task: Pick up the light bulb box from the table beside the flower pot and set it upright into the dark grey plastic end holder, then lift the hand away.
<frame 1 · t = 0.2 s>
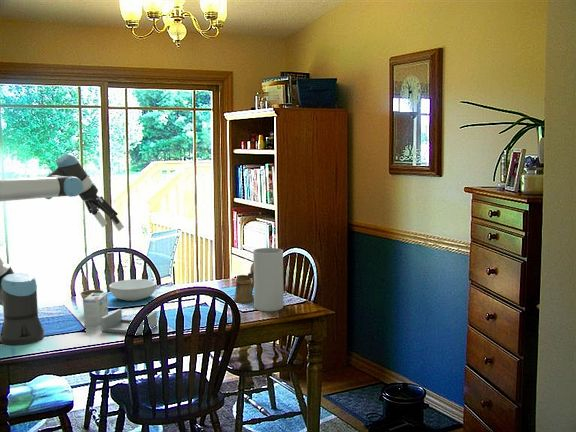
hand: (113, 227, 283), 35 cm above the table, tool tilted 35°, fingers open, 13 cm apart
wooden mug: (248, 300, 299), on the table
flower pot: (93, 312, 280), on the table
cylinder vase: (268, 308, 285), on the table
end holder: (129, 329, 256), on the table
serving bowl: (133, 299, 303), on the table
light bulb box: (96, 322, 266), on the table
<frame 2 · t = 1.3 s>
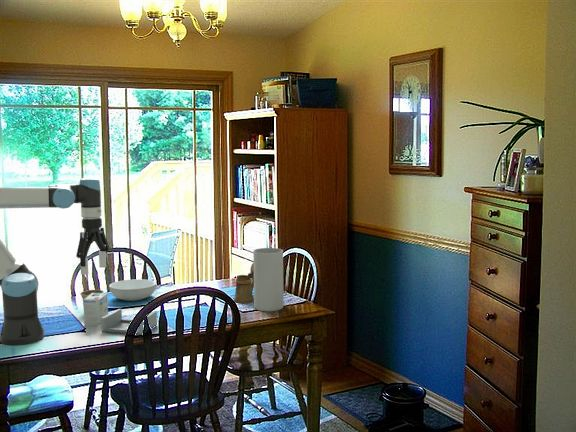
hand: (94, 270, 264), 21 cm above the table, tool pointing down, fingers open, 13 cm apart
nothing on the table moved.
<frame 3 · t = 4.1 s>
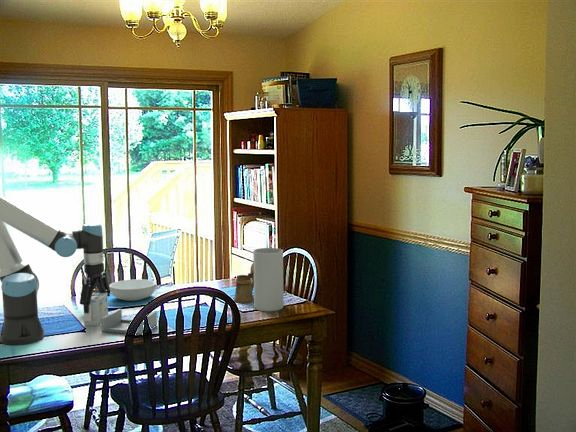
hand: (96, 316, 266), 2 cm above the table, tool pointing down, fingers closed on light bulb box, 11 cm apart
light bulb box: (96, 322, 266), on the table, touching gripper
everything else where it was.
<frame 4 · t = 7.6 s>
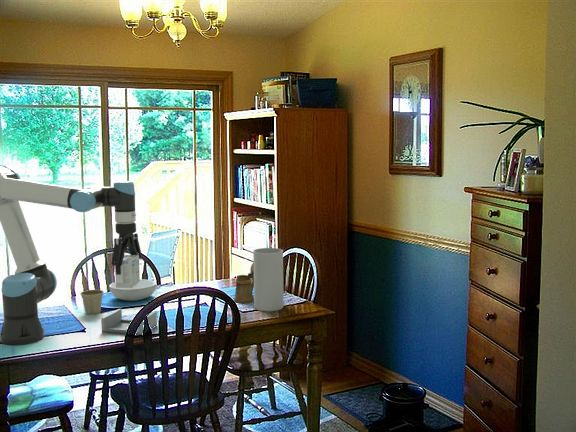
hand: (127, 279, 253), 20 cm above the table, tool pointing down, fingers closed on light bulb box, 11 cm apart
light bulb box: (128, 285, 253), point 17 cm above the table, touching gripper
everything else where it was.
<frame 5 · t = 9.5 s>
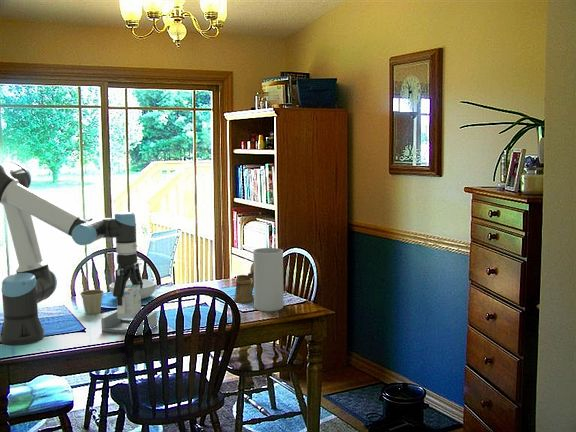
hand: (129, 309, 255), 8 cm above the table, tool pointing down, fingers closed on light bulb box, 11 cm apart
light bulb box: (129, 315, 255), point 6 cm above the table, touching gripper
everything else where it was.
when the fingers open (5 cm above the table, at t = 11.2 s): light bulb box drops 1 cm, resting on end holder.
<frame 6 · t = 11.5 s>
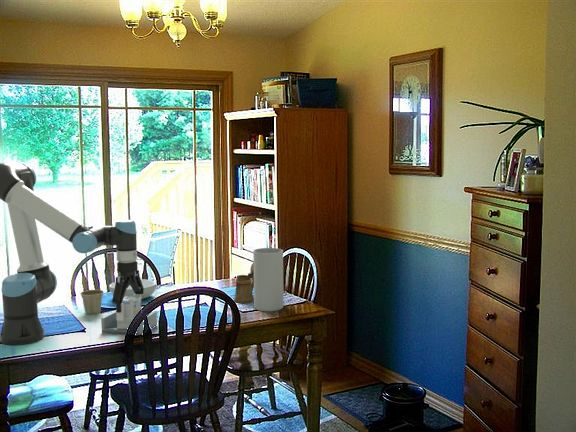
hand: (129, 315, 255), 5 cm above the table, tool pointing down, fingers open, 13 cm apart
light bulb box: (129, 326, 255), point 1 cm above the table, touching end holder
everything else where it was.
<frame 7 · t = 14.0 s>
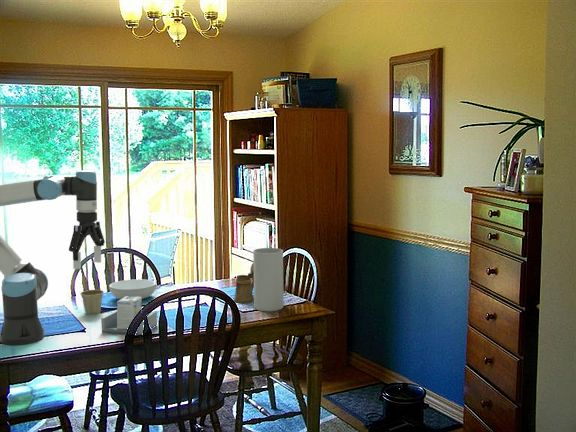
hand: (87, 265, 258), 24 cm above the table, tool pointing down, fingers open, 13 cm apart
nothing on the table moved.
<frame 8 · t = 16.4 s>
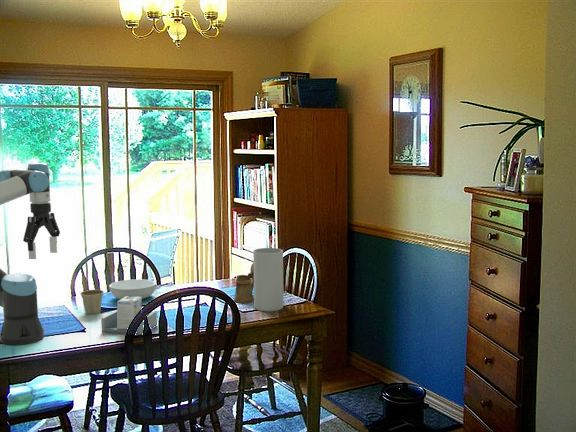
hand: (43, 255, 264), 27 cm above the table, tool pointing down, fingers open, 13 cm apart
nothing on the table moved.
at the end: light bulb box 0.3 cm off-centre on the end holder, point 1.1 cm above the end holder's base; light bulb box tilted 5°; the gripper is holding nothing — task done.
